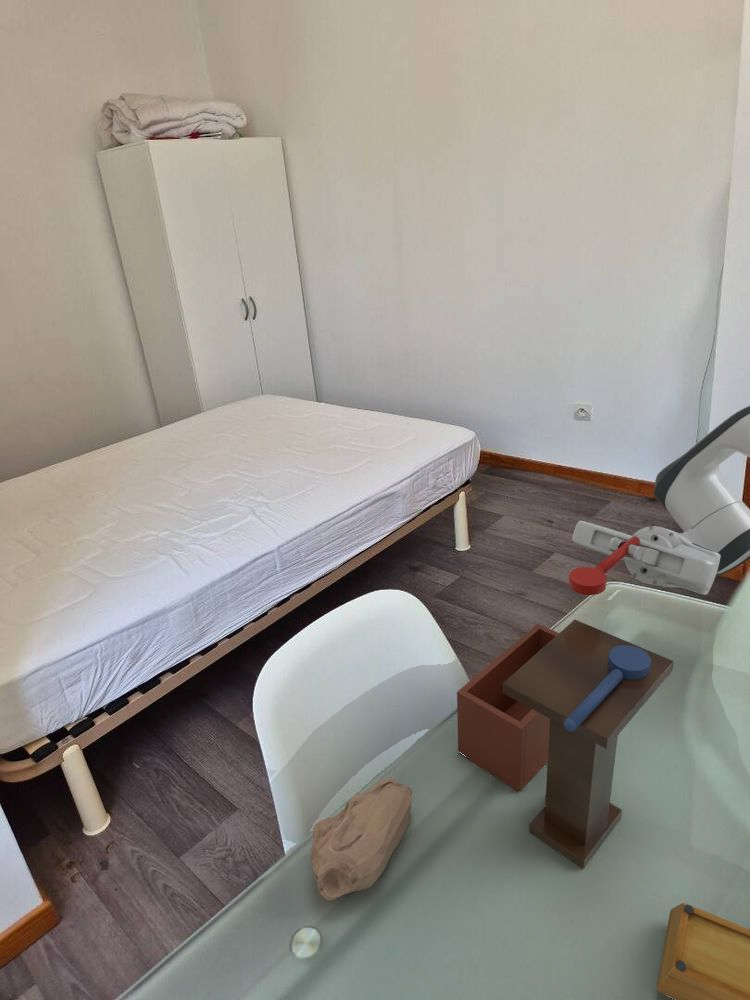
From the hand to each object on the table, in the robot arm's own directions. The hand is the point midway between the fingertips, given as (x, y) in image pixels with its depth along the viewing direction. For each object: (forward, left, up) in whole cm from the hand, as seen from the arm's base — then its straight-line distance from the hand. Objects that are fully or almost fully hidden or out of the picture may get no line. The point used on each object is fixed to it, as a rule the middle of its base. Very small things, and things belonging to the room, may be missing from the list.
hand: (623, 548), depth 94 cm
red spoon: (+3, +3, -1) cm, 4 cm away
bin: (+12, +2, -31) cm, 34 cm away
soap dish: (-1, +39, -26) cm, 47 cm away
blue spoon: (+9, +22, -5) cm, 24 cm away
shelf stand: (+10, +19, -31) cm, 37 cm away
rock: (+34, +23, -28) cm, 50 cm away
